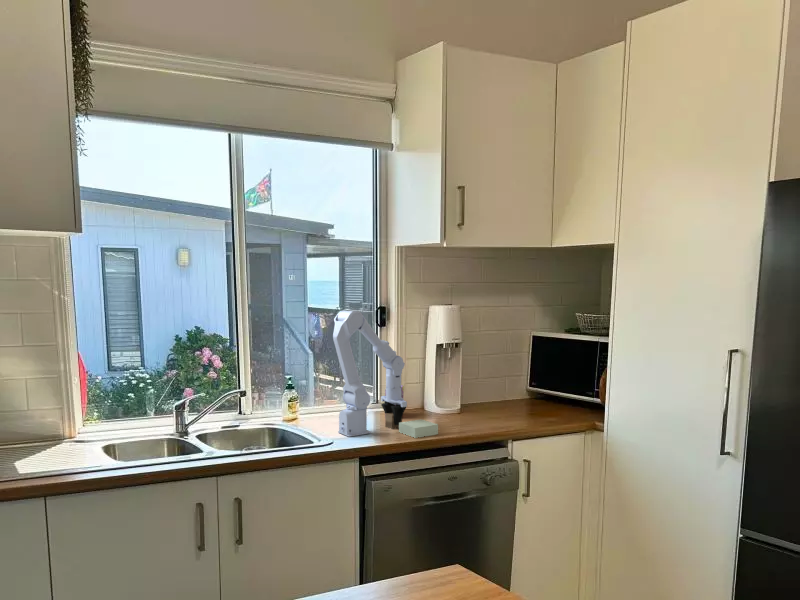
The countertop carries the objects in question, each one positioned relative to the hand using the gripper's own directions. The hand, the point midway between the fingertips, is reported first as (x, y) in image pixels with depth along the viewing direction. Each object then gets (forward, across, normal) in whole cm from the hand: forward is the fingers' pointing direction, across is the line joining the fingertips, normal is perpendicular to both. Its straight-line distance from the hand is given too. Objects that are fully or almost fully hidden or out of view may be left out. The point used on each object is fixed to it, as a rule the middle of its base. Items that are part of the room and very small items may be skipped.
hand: (393, 423), depth 224 cm
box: (+2, +16, -11) cm, 19 cm away
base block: (+1, -13, -2) cm, 13 cm away
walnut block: (+1, 0, 0) cm, 1 cm away
